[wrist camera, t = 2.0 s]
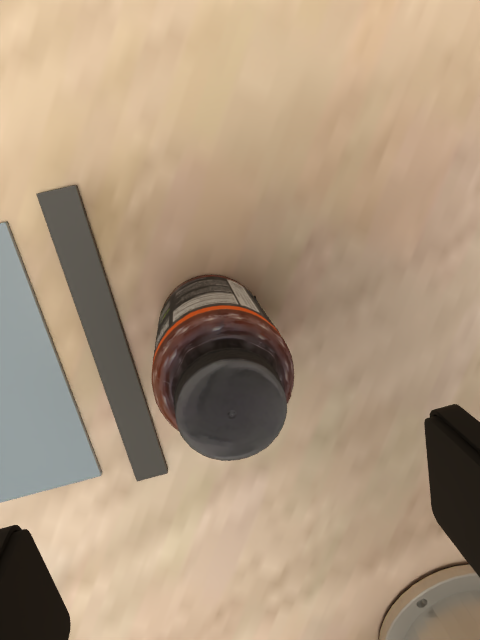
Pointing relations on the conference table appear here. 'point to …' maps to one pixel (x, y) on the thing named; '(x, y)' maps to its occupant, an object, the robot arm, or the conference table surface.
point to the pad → (34, 394)
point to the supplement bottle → (221, 369)
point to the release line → (102, 327)
